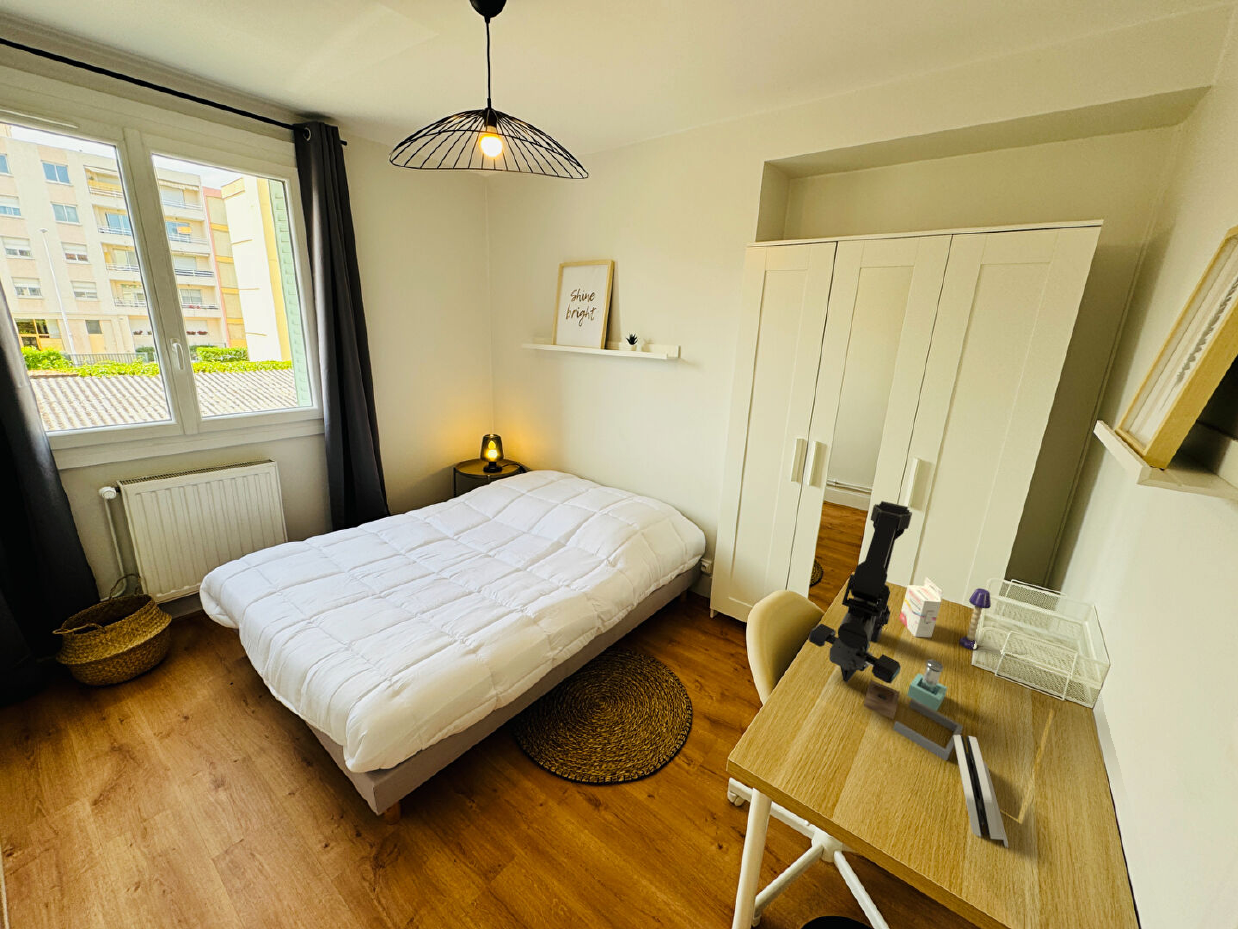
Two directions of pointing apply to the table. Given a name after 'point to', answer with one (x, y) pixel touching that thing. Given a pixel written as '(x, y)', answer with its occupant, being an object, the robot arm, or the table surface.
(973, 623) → the toy lamp
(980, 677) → the table surface
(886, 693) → the walnut block
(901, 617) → the ink cartridge box
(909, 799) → the table surface
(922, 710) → the grey u-shaped bracket
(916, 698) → the teal block
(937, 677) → the metal cylinder peg
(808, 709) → the table surface
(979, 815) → the grey slotted housing
